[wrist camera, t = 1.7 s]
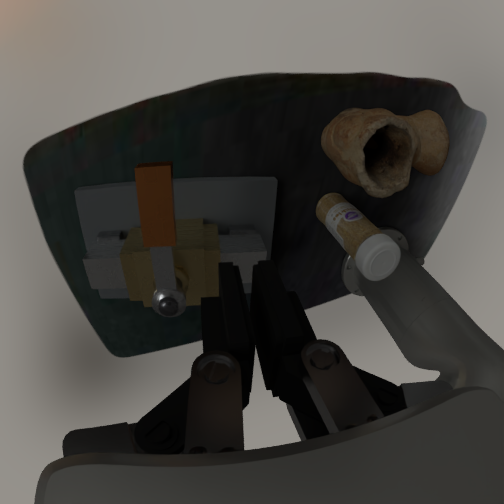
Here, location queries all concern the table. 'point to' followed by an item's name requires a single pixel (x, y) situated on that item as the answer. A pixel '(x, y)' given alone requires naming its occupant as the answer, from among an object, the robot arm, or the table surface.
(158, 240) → the lever
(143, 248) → the valve
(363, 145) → the pipe
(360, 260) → the sprinkles bottle
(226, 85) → the table surface
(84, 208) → the valve board
